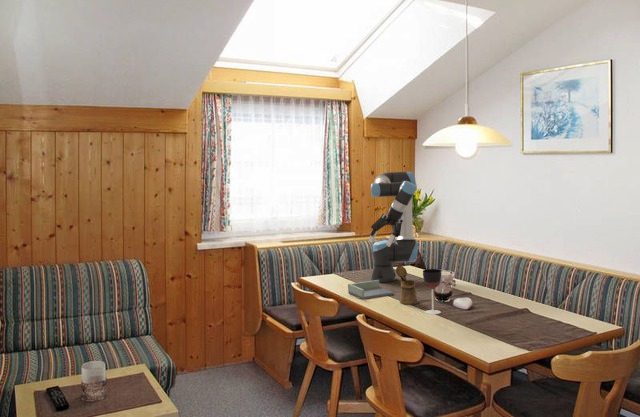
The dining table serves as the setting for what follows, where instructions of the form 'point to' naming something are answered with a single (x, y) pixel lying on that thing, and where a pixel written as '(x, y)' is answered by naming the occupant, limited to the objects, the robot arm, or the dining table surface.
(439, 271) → the wineglass
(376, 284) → the corner bay
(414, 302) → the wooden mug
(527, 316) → the dining table surface
